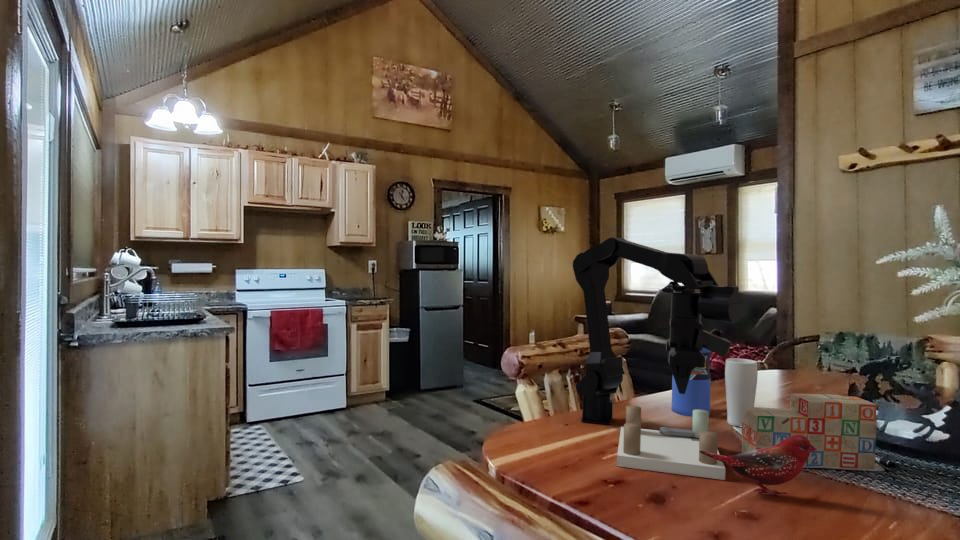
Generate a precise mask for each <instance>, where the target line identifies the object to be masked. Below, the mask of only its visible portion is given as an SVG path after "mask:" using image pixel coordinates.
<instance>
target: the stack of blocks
mask: <svg viewBox="0 0 960 540" xmlns="http://www.w3.org/2000/svg"><path fill="white" fill-rule="evenodd" d="M789 404H790V405H789V406H790V407H789V408H781V407H778V408H777V407H761V406H760V407H758V406H754V407H743V422H742V428H741V453H743V452H746V451H751V450H756V449H762V448H768V447H772V446H775V445H777V444H779V443H780V442H782V441H783V440H784V439H786V438H788V437H791V436H795V435H803V436H805V437H806V438H807V439H808V440H809V441H810V444H811V445H812V446H813V447H815V448H816V449H817V450H814V451H811V452H810V455H809V457H808V459H807V460H806V462H805V464H804V466H803V467H814V466H823V467H822V468H835V467H836V469H837V468H840V469H857V470H875V469H876V463H875V462H876V443H877V442H876V439H877V423H878V421H877V410H878V409H877V404H876V403H874V402H871V401H869V400H865V399H863V398H861V397H858V396H850V395H848V396H847V395H840V394H829V393H827V394H826V393H825V394H819V393H818V394H817V393H816V394H815V393H790V403H789Z"/></svg>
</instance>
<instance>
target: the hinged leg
mask: <svg viewBox="0 0 960 540" xmlns="http://www.w3.org/2000/svg"><path fill="white" fill-rule="evenodd" d="M709 419H710V415H709V412H708V411H706V410H700V409H695V410H693V417H692V420H691V421H692V424H691V425H692V426H691V429H685V428H684V429H683V428H674V427H671V428H670V427H667V426H661V427H659V430H658V431H659V432H660V433H661V434H664V435H677V436H688V437H696V438H699V433H700V431H709V428H710V427H709V426H710V425H709V421H710V420H709Z"/></svg>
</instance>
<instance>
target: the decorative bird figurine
mask: <svg viewBox="0 0 960 540" xmlns="http://www.w3.org/2000/svg"><path fill="white" fill-rule="evenodd" d="M814 450H817V449H816V448H815V447H813V446H812V445H811V444H810V441H809V440H808V439H807V438H806V437H805V436H803V435H795V436H791V437H788V438H786V439H784V440H783V441H782V442H780V443H779V444H777V445H775V446H772V447H768V448H762V449H756V450H751V451H746V452H740V453H736V454H734V455H731V456H728V455H722V454H720V453H719V454H720V455H719V454H714V453H710V452H705V451H699V452H700V453H702V454H704V455H707V456H709V457H711V458H714V459H716V460H719V461H721V462H723V464H724V465H727V466H728V467H729V468H730V469H732V471H734V472H735V473H736V474H737V475H738V476H740V477H743V478H746V479H747V480H749V481H752V482H753V483H754V484H755V485H756V486H758V487H759V488H756V489H754V490H753V491H752V492H754V493H755V492H758V494H765V495H767V494H768V495H772V496H777V495H789V493H788V492H784V491H783V492H780V491H778V490H775V489H774V490H772V489H769V488H768V487H767V486H778V485H782V484H786V483H787V482H790V481H792V480H793V479H795V478H796V477H797V476H799V474H800V473H801V472H802V470H803V469H804V467H805V466H804V464H805V462H806V460H807V459H808V457H809V455H810V452H811V451H814Z"/></svg>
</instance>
